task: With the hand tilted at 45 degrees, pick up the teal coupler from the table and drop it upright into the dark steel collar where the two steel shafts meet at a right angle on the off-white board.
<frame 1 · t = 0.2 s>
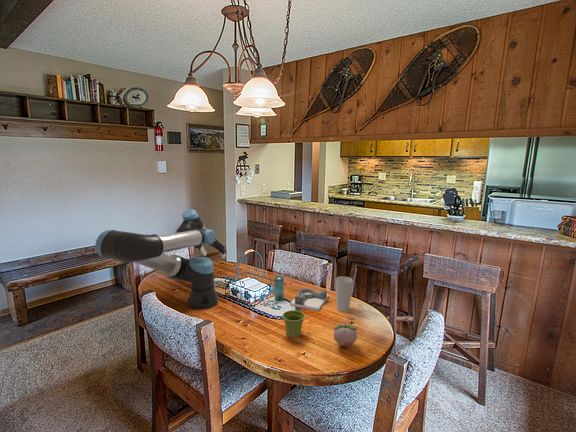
hand: (214, 255, 195), 15 cm above the table, tool tilted 35°, fingers open, 13 cm apart
decorative fruit: (344, 346, 129), on the table
plant pot: (293, 334, 138), on the table
coupler: (279, 298, 172), on the table
shaft board: (310, 301, 169), on the table
cup: (342, 309, 161), on the table
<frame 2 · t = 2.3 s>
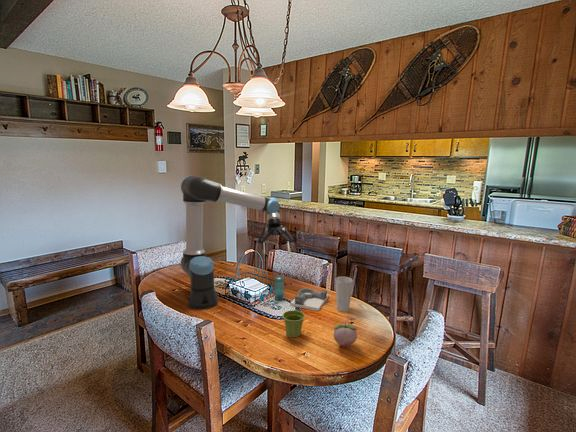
hand: (276, 253, 178), 22 cm above the table, tool tilted 45°, fingers open, 13 cm apart
nothing on the table moved.
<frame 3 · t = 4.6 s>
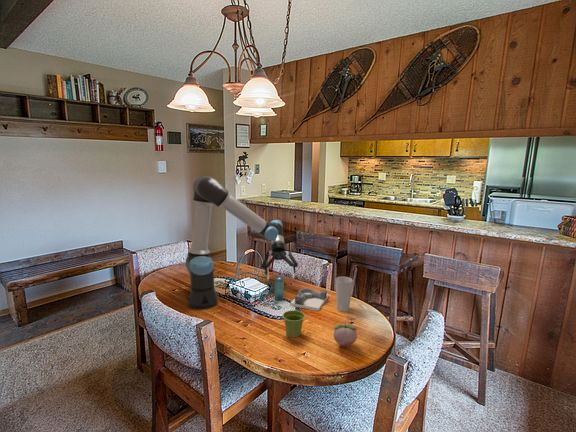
hand: (280, 279, 174), 9 cm above the table, tool tilted 45°, fingers open, 13 cm apart
nothing on the table moved.
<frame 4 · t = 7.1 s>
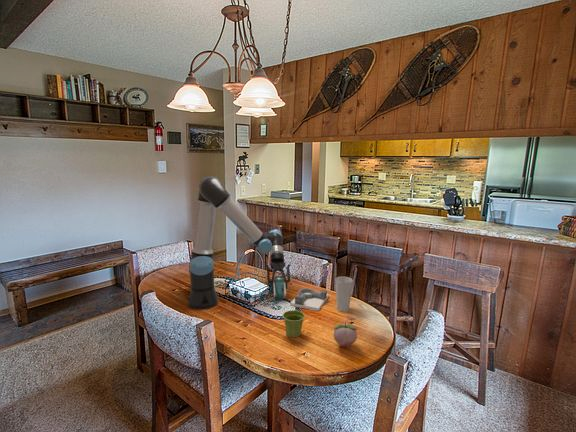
hand: (279, 295, 167), 4 cm above the table, tool tilted 45°, fingers closed on coupler, 5 cm apart
coupler: (279, 298, 172), on the table, touching gripper
everything else where it was.
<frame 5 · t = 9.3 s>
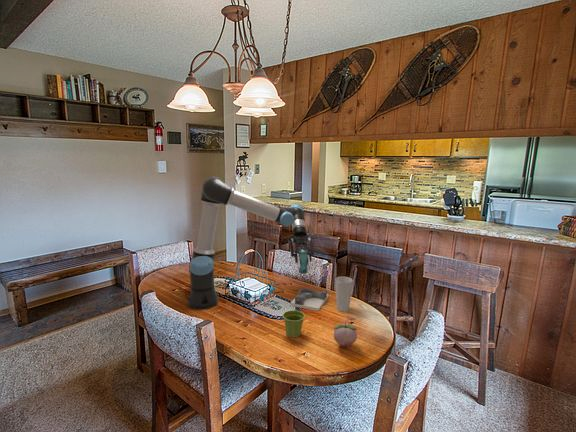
hand: (304, 267, 166), 18 cm above the table, tool tilted 45°, fingers closed on coupler, 5 cm apart
coupler: (303, 272, 171), point 15 cm above the table, touching gripper
everything else where it was.
when the fingers open (8 cm above the table, at t = 12.0 s): coupler drops 2 cm, resting on shaft board.
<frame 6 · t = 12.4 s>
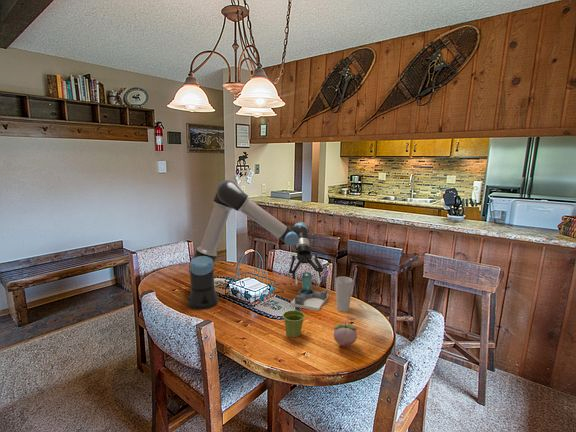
hand: (307, 284, 169), 9 cm above the table, tool tilted 45°, fingers open, 11 cm apart
coupler: (306, 295, 173), point 2 cm above the table, touching shaft board
everything else where it was.
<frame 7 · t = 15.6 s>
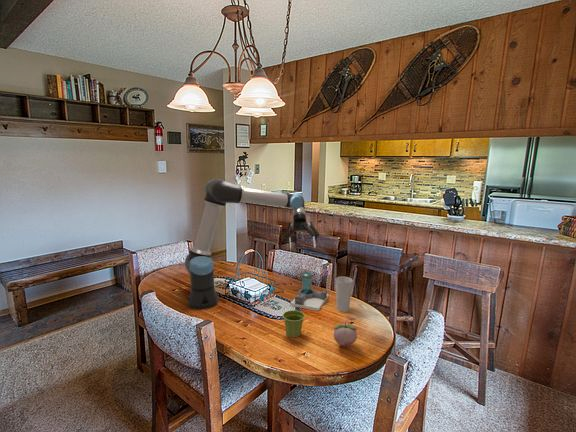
hand: (302, 248, 179), 25 cm above the table, tool tilted 45°, fingers open, 13 cm apart
nothing on the table moved.
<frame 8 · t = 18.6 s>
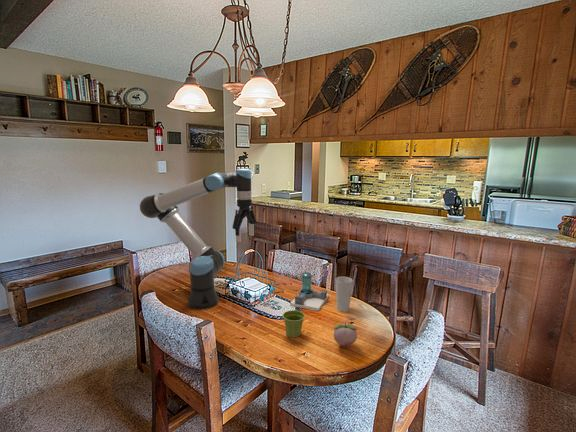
hand: (245, 238, 172), 32 cm above the table, tool pointing down, fingers open, 13 cm apart
nothing on the table moved.
at the end: coupler 0.0 cm from the target spot on the shaft board, point 1.6 cm above the shaft board's base; coupler tilted 2°; the gripper is holding nothing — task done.
